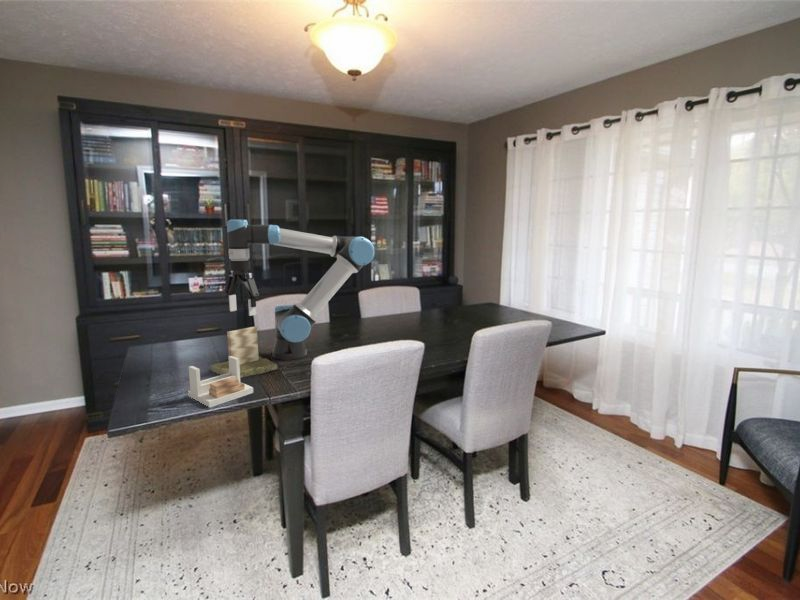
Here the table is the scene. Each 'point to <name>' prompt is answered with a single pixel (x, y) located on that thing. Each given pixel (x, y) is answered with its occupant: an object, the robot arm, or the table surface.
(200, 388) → the board rack
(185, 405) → the table surface
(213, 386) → the offcut upper
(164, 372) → the table surface
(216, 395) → the offcut lower
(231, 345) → the birch board
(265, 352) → the table surface
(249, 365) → the decorative tile
